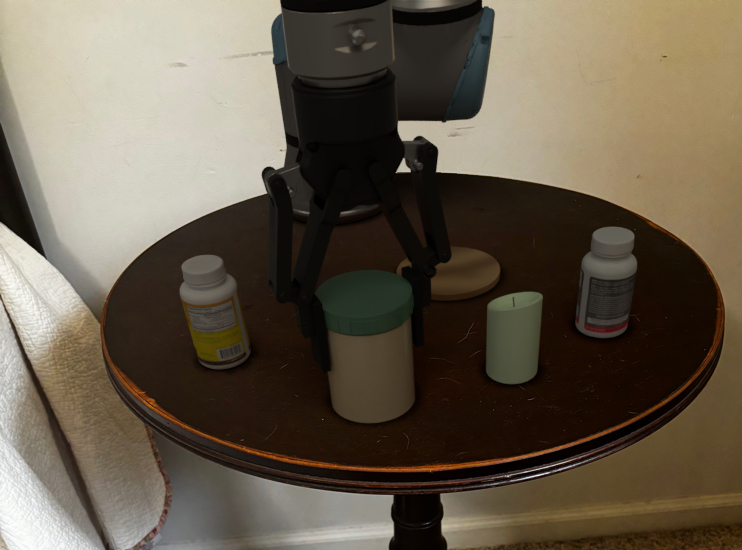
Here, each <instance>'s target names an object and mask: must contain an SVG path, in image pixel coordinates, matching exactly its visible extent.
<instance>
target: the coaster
mask: <svg viewBox="0 0 742 550" xmlns="http://www.w3.org/2000/svg"><path fill="white" fill-rule="evenodd" d="M450 248H451V253H452V257H451V259H450V261H449V262H447V263H440V264H438V265H436V266H435V267H436V270H437V272H436V275H435V276H434V277H433V278H431V298H432V300H431V301H437V302H438V301H440V302H452V301H462V300H467V299H472V298H475V297H478V296H482V295H483V294H485V293H487V292H489V291H490V290H491V289H493V288H494V287H496V285H497V284H498V283H499V281H500V277H501V266H500V263H499V261H498V260H497V259H496V258H495V257H493V256H492V255H491V254H489V253H487V252H485V251H483V250H479V249H475V248H471V247H466V246H465V247H464V246H450ZM406 266H410V267H411V263H410V261H409V260H408V258H407V257H406V258H404V259H403V260H402V261H401V262H400V263H399V265H398V266H397V268H396V274H397V275H400V276H402V272H401V268H402V267H406Z"/></svg>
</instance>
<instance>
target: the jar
mask: <svg viewBox="0 0 742 550" xmlns="http://www.w3.org/2000/svg"><path fill="white" fill-rule="evenodd" d="M325 329H326V337H327V344H328V352H329V359H330V367H331V371H329V372H326V373H327V379H328V386H329V387H328V388H329V394H330V401H331V406H332V408H333V410H334V412H336V413H337V415H339V417H342V418H344V419H346V420H349V421H351V422H355V423H359V424H378V423H379V424H380V423H385V422H389V421H392V420H394V419H397V418H399V417H401V416H402V415H404V414H406V413H407V412H408V411H409V410H410V409H411V408H412V407H413V405H414V403H415V401H416V381H415V363H414V344H413V340H412V320H411V316H410V317H409V318H408V320H406V321H405V322H404V323H403V324H401V325H400V326H398V327H396V328H393V329H391V330H388V331H385V332H381V333H377V334H370V335H349V334H343V333H338V332H335V331H332V330H330V329H328V328H326V327H325Z"/></svg>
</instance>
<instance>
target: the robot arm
mask: <svg viewBox="0 0 742 550" xmlns="http://www.w3.org/2000/svg"><path fill="white" fill-rule="evenodd" d="M279 3H280V4H279V5H280V13H279V14H278V15H277V16H276V17H275V18H274V20H273V21H272V23H271V28H270V36H271V44H272V55H273V57H272V64H273V66H274V71H275V78H276V84H277V90H278V97H279V104H280V111H281V118H282V123H283V130H284V137H285V144H286V146H285V147H286V149H285V155H284V156H285V157H284V163H283V166H282V167H279V168H277V169H276V168H275V167H273V166H266V167H264V168H263V169H262V171H261V180H262V183H263V186H264V188H265V191H266V194H267V197H268V231H267V232H268V233H267V235H268V236H267V237H268V238H267V239H268V240H267V241H268V242H267V288H268V289H269V291H270V293H271V295H273V297H274V298H275V300H276V302H277V303H279V304H282V305H284V304H287V303H293V310H294V316H295V322H296V327H297V328H298V331H299V332H300V334H301V335H302V336H303V337H304V339H305V340H306V339H309V340H310V345H311V346H310V347H311V352H312V359H313V360H314V362H315V363H316V365H317V367H318V368H319V369H320V371H321V372H322V374H325V373H327V372H329V371H331V367H330V359H329V352H328V344H327V337H326V329H325V322H324V315H323V307H322V303H321V301H320V300H319V299H318V297H317V296H316V295H315V293H316V288H317V285H318V281H319V279H320V275H321V271H322V268H323V265H324V261H325V257H326V255H327V250H328V247H329V244H330V240H331V238H332V234H333V231H334V228H335V227H336V226H337V225H338V224H347V223H353V222H357V221H362V220H365V219H368V218H371V217H373V216H376V215H378V214H380V213H382V214H383V216H384V218H385V220H386V221H387V223H388V225H389V227H390V230H391V231H392V233H393V234H394V236H395V238H396V239H397V241H398V243H399V245H400V247H401V249H402V250H403V252H404V254H405V256H406V258H408V260H409V261H410V263H411V267H410V266H406V267H402V268H401V272H402V277H403V278H405V279H406V280H407V281H408V282H409V283H410V284H411V287H412V295H413V296H414V307H413V313H412V314H411V320H412V340H413V346H415V347H416V348H421V347H423V346H425V329H424V308H427V307H430V306H431V303H432V301H433V300H432V298H431V278H433V277H434V276H435V275H436V272H437V270H436V267H435V266H436V265H438V264H440V263H447V262H449V261H450V259H451V257H452V253H451V248H450V247H451V244H450V239H449V234H448V228H447V224H446V223H447V222H446V219H445V214H444V208H443V204H442V199H441V193H440V188H439V184H438V178H437V169H438V160H439V148H438V147H437V145H435V144H434V143H432V142H431V141H430V140H429V139H427V138H425V137H424V136H423V135H417V136H415V137H413V140H402V138H401V136H400V134H399V128H398V126H399V122H441V123H443V124H444V123H447V122H450V121H451V122H453V121H466V120H467V121H468V120H472V119H474V118H476V116H477V115H478V114H479V113H480V111H481V109H482V106H483V103H484V102H483V101H484V98H485V92H486V84H487V80H488V79H487V78H488V73H489V72H488V71H489V64H490V58H491V50H492V43H493V35H494V28H495V17H496V12H495V9H493V8H492V7H489V6H488V5H485V6H483V0H279ZM403 160H404V163H405V166H406V167H407V168H408V169H409V170H410V171H409V172H410V177H411V181H412V186H413V191H414V195H415V200H416V204H417V208H418V213H419V217H420V221H421V226H422V229H423V235H424V239H425V244H426V246H425V247H424V246H423V244H422V242H421V240H420V237H419V236H418V234H417V233H416V230H415V228H414V226H413V224H412V223H411V221H410V219H409V217H408V215H407V213H406V211H405V210H404V208H403V205H402V200H400V197H399V196H398V193H397V192H396V190H395V188H394V186H393V184H392V181H393V179H394V177H395V176H396V173H397V171H398V170H399V168H400V166H401V164H402V162H403ZM294 220H297V221H300V222H304V223H306V225H305V229H304V231H303V236H302V239H301V243H300V246H299V251H298V254H297V257H296V261H295V265H294V269H293V272H292V265H293V264H292V261H293V234H294V233H293V232H294V231H293V230H294Z"/></svg>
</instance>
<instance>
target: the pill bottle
mask: <svg viewBox="0 0 742 550" xmlns="http://www.w3.org/2000/svg"><path fill="white" fill-rule="evenodd" d="M635 237H636V236H635V233H634V232H633V231H632V230H630V229H629V228H624V227H620V226H604V227H601V228H598V229H596V230H595V231H593V233H592V235H591V241H590V251H588V252H587V253H586V254H585V255H584V256H583V258H582V260H581V263H580V264H581V265H580V271H579V272H580V273H579V275H580V276H579V282H578V292H577V302H576V311H575V327H576V329H577V330H578V331H579V332H580V333H581V334H583V335H585V336H588V337H591V338H597V339H611V338H616V337H618V336H620V335H622V334H623V333H624V332H626V331H627V329H628V325H629V320H630V314H631V308H632V307H631V306H632V302H633V295H634V288H635V284H636V276H637V273H638V272H637V271H638V260H637V258H636V256H635V255H634V254H632V252H633V250H634V247H635Z"/></svg>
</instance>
